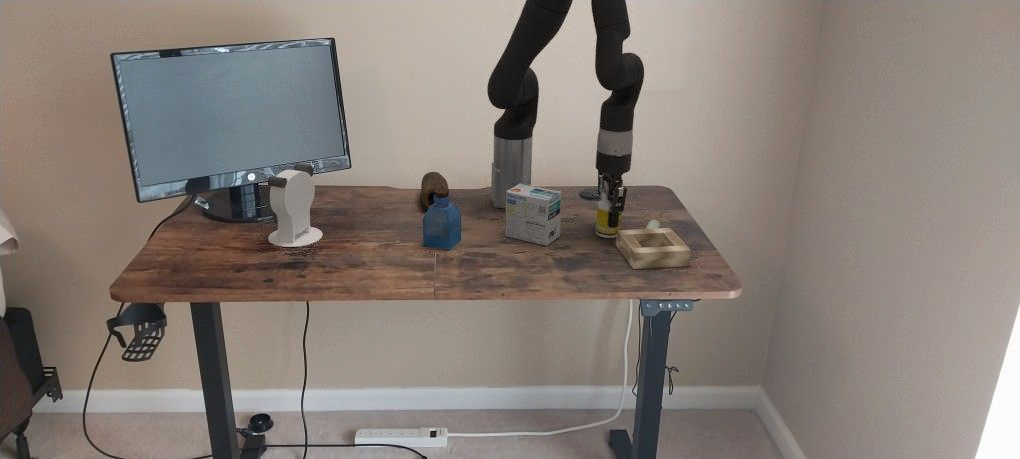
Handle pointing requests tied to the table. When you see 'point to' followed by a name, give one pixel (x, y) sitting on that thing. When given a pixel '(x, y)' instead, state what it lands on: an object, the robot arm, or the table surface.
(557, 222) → the light bulb box
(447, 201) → the perfume bottle
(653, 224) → the lying dowel
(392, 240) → the table surface
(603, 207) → the supplement bottle
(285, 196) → the headphone stand
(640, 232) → the socket block
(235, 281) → the table surface
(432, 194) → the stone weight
